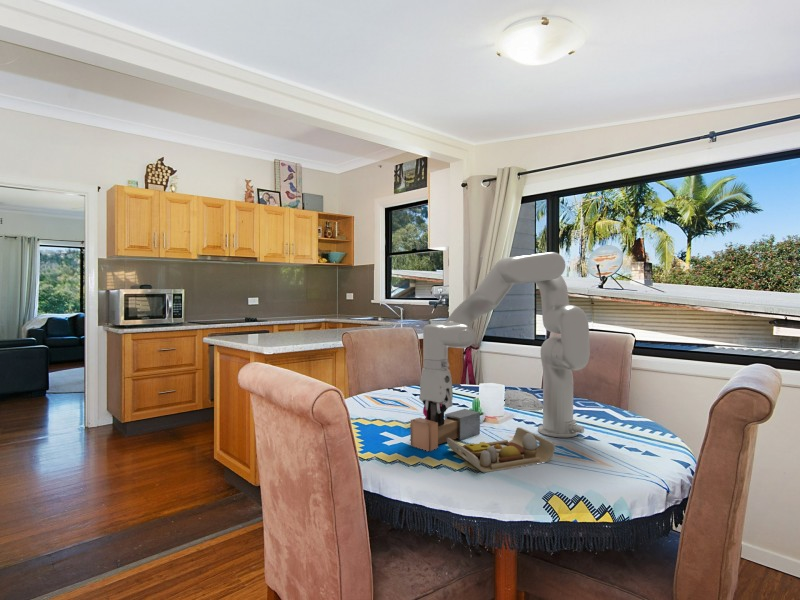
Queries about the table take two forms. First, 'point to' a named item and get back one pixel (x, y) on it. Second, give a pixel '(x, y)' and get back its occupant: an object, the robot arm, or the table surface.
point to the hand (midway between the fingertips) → (435, 423)
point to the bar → (445, 426)
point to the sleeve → (466, 422)
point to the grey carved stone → (522, 400)
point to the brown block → (424, 434)
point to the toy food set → (506, 452)
